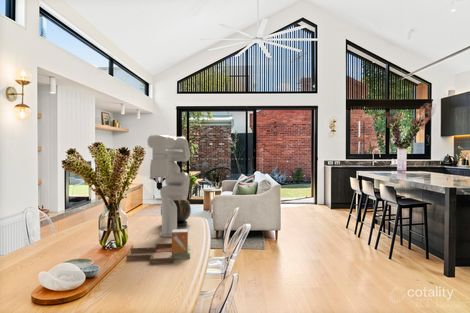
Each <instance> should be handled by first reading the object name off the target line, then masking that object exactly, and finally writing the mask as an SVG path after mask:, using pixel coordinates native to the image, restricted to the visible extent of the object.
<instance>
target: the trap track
mask: <svg viewBox="0 0 470 313" xmlns="http://www.w3.org/2000/svg"><path fill="white" fill-rule="evenodd" d="M163 252H164V253H165V252H169V253H170V252H171V257H154V253H163ZM147 253H148V254H147ZM125 258H126V259H125V261H126V262H130V261H131V262H133V261H149V265H161V264H163V265H164V264H165V265H166V264H174V260H179V259H180V260H181V259H191V246H190V245H188V253H172V242H169V243H165V242H164V243H155V244H154V246H152V247H151V246H149V247H147V246H146V247H130V254H129V255H128V254H127V255H126V257H125Z"/></svg>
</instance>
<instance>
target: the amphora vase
mask: <svg viewBox="0 0 470 313" xmlns="http://www.w3.org/2000/svg"><path fill="white" fill-rule="evenodd" d="M173 202H174V203H175V204H176V206H177V228H178V227H185V226H186V225H188V221H187V220H188V219H189V218H190V217H191V213H192V208H191V203H190V201H189V200H188V198H187V199H186V200H173ZM160 215H161V216H162V205H161V208H160Z"/></svg>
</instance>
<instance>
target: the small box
mask: <svg viewBox="0 0 470 313" xmlns="http://www.w3.org/2000/svg"><path fill="white" fill-rule="evenodd" d="M171 243H172V251H171V254H172V253H188V246H189V229H188V228H180V229H179V228H177V229H173V231H172V237H171Z"/></svg>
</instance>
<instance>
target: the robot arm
mask: <svg viewBox="0 0 470 313" xmlns="http://www.w3.org/2000/svg"><path fill="white" fill-rule="evenodd" d="M147 146H148V147H149V148H151V149H152V155H151V156H152V158H151V160H150V165H149V166H150V167H149V179H150V180H153V181H154V182H155V183H156V189H157V190H158V191H159V190H160V192H159V194H160V199H161V200H160V201H161V206H162V215H161V231H159V236H160V237H163V238H164V237H165V238H172V231H173V229H178V227H177V206H176V204H175V203H174V202H173V200H186V199H187V200H188V197H189V196H188V195H189V192H190V191H189V189H190V183H191V179H190V178H191V177H190V175H189V173H187V172H181V167H180V166H179V165H178V163H176V162H188V161H189V160H191V152H190V146H189V142H188V140H187V138H186V137H185V136H171V135H165V134H154V135H152V134H151V135H149V136H148V138H147ZM159 178H160V181H159ZM164 181H165V182H164ZM163 182H164V183H165V185H163Z"/></svg>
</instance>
